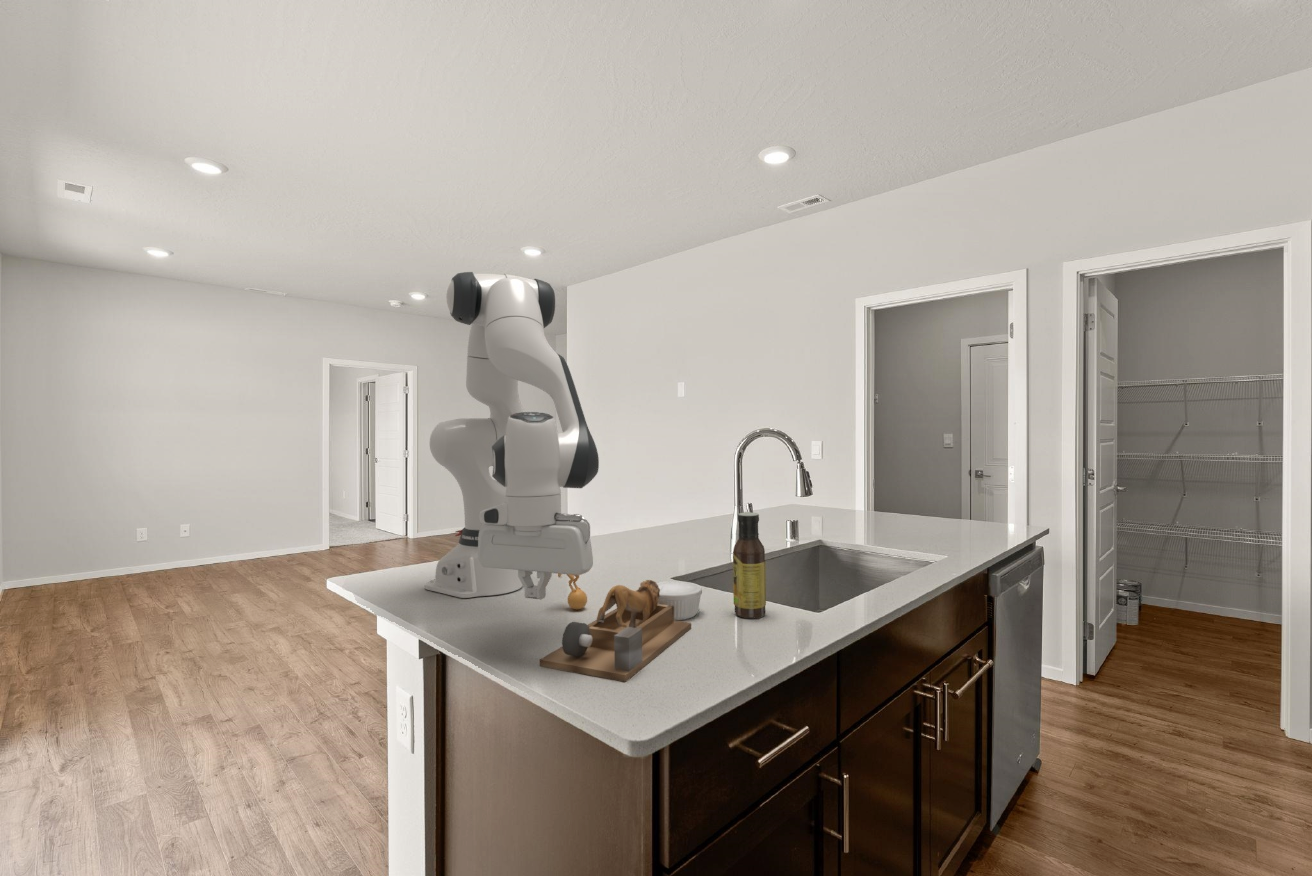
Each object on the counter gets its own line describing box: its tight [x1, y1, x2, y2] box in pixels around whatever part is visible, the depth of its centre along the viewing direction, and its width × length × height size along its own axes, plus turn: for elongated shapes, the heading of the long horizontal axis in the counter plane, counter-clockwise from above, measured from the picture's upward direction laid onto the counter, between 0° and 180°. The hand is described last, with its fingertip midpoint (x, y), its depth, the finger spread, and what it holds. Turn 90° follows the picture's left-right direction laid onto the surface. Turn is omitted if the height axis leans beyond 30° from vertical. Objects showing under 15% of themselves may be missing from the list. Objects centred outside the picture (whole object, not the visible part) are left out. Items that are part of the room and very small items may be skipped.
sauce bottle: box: [732, 511, 767, 619], centre depth 121 cm, size 6×6×20 cm
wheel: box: [561, 621, 592, 657], centre depth 97 cm, size 3×5×5 cm
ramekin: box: [656, 580, 703, 621], centre depth 123 cm, size 11×11×5 cm
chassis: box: [539, 604, 692, 683], centre depth 105 cm, size 15×26×6 cm, turn 155°
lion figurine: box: [596, 579, 660, 628], centre depth 108 cm, size 15×5×9 cm, turn 146°
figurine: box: [557, 573, 588, 611], centre depth 127 cm, size 8×6×12 cm
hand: (535, 597), depth 100 cm, fingers closed
